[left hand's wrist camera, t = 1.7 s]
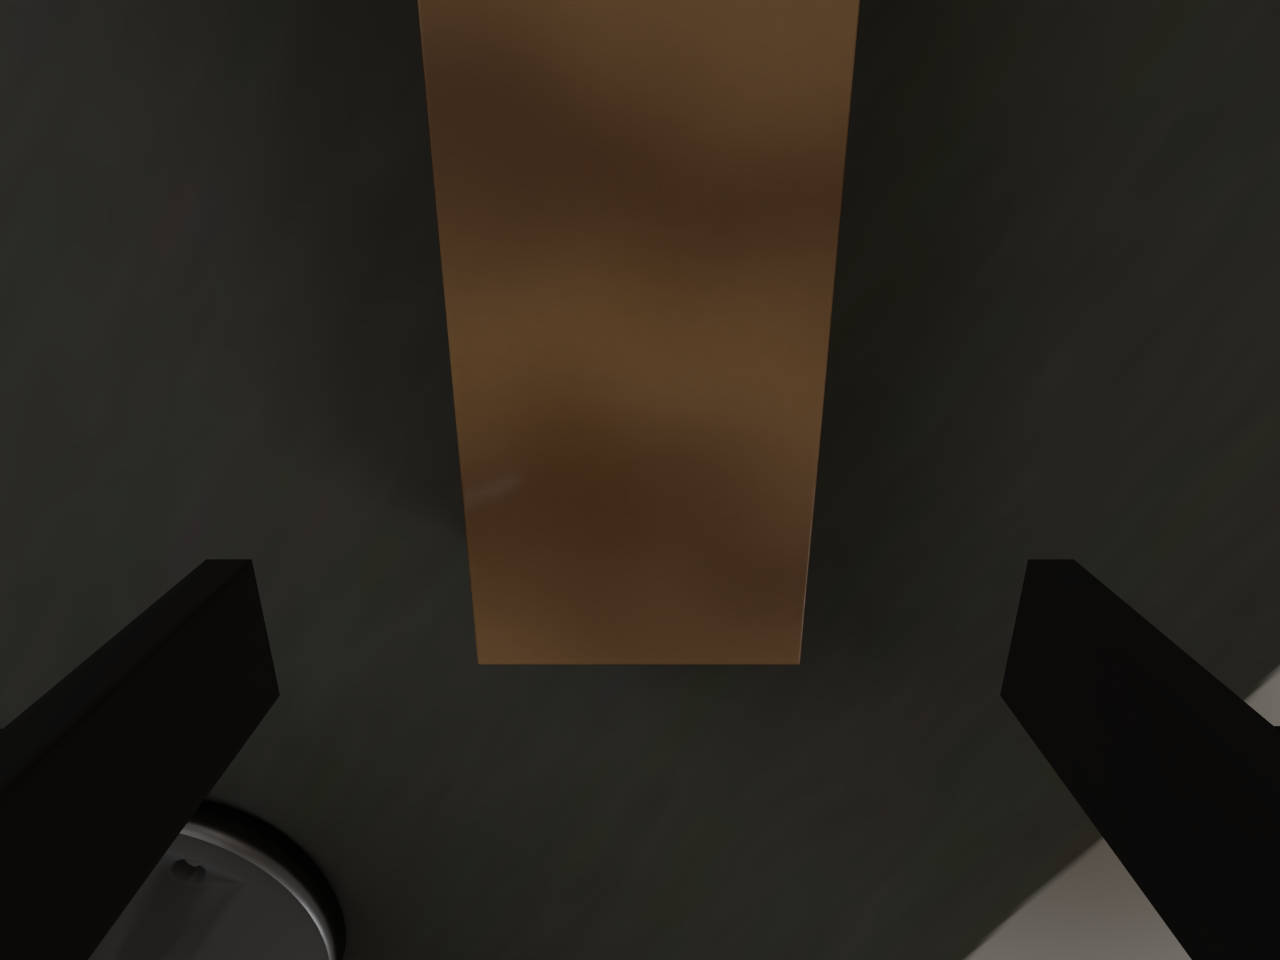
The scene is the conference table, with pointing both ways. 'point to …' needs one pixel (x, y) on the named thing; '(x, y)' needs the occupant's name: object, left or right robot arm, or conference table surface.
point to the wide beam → (638, 314)
